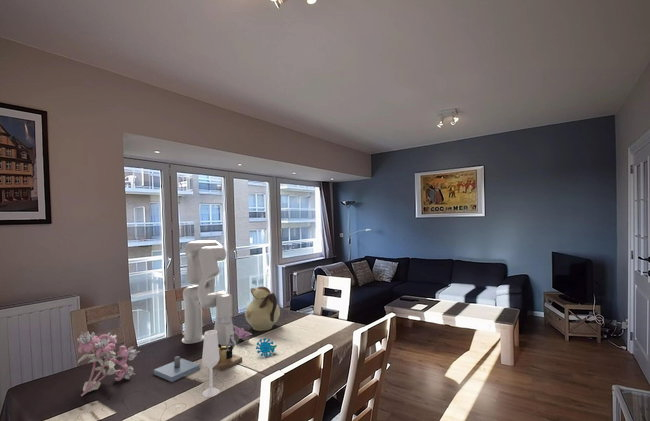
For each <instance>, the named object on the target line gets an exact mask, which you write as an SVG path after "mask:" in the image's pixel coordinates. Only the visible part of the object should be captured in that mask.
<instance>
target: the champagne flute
mask: <svg viewBox="0 0 650 421" xmlns="http://www.w3.org/2000/svg"><path fill="white" fill-rule="evenodd" d="M203 335H204V340H203V346H202V354H201V355H202V356H201V357H202V358H201V362H202V365H204V366H205V368H207V369H208V370H209V374H208V375H209V376H208V377H209V380H208V381H209V382H208V384H209V385H208V386H209V387H208V388H206V390H204V391H202V394H201V395H202V397H203V398H210V397H215V396H217V395H218V394H219V393H220V391H221V390H220V389H219V388H217V387H214V386H213V369H214V368H213V367H214V366H215V365H216V364H217V363H218V361H219V359H220V357H219V347H218V337H217V331H216V330H214V329H211V330H207V331H205V332H204V334H203Z"/></svg>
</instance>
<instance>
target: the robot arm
mask: <svg viewBox="0 0 650 421" xmlns="http://www.w3.org/2000/svg"><path fill="white" fill-rule="evenodd" d="M184 253H185V256H186V260H187V266H186V282H187V284H189V285H188V286H186V287H185V288H184V289H183V290H182V299H183V305H184V331H183V332H182V335H183V337H182V338H181V343H183V344H186V345H187V344H188V345H190V344H192V345H193V344H198V343H200V342H204V334H203V309H205V310H207V309H211V308H215V323H214V328H213V330H216V331H217V337H218V347H222V346H226V348H227V351H226V359H227V360H228V359H230V358H232V354H233V350H234V348H235V346H236V345H237V342H236V340H235V334H234V331H235V329H234V326H233V325H234V324H233V295H232V294H231V293H228V292H227V291H226V290H218V291H215V284H216V277H218V275H219V274H220V273H221V272H220V267H219V264H218V262H220V261H221V262H222V261H224V260H225V259H226V258H227V252H226V249H225V247H224V246H223V245H222V244H221V243H220V242H218V241H217V240H214V239H213V240H211V239H210V240H194V241H193V240H192V241H189V242H187V243H186V244H185V247H184ZM198 302H199V303H198ZM229 346H230V347H229Z"/></svg>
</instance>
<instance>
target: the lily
mask: <svg viewBox="0 0 650 421" xmlns="http://www.w3.org/2000/svg"><path fill="white" fill-rule="evenodd" d="M233 329H234V335H236V336H238V338H237V342H236V345H238V344H239V343H238V342H239V340H241V339H243V338H244V339H246V340H247V341H249V340H250V339H249V338H248V336H252V335H253V333H251V332H250V331H245V329H244V327H242V328H240V327H238V326H237V325H234V324H233Z"/></svg>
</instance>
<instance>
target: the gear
mask: <svg viewBox="0 0 650 421" xmlns="http://www.w3.org/2000/svg"><path fill="white" fill-rule="evenodd" d="M277 346H278V345H277V344H275V345H274V341H273V340H272V341H271V339H270V338H268V339H267V338H266V337H263V339H262V338H260V339H259V341H257V342H256V346H255V349H256V352H257V354H260V357H263V356H264V357H265V358H268V356H270V357H271V356H272V355H273V353H275V349H276V348H277ZM268 353H269V354H268Z"/></svg>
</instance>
